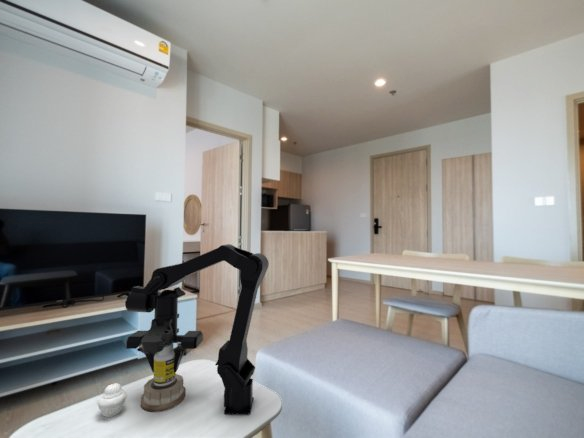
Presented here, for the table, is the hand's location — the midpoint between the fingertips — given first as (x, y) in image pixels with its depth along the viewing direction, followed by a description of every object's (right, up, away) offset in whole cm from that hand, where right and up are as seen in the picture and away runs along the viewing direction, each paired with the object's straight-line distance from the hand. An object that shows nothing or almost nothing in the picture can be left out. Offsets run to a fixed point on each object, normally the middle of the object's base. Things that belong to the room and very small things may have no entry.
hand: (164, 371), depth 74 cm
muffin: (-10, -7, -6) cm, 14 cm away
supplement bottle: (0, -3, 0) cm, 3 cm away
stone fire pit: (0, -7, 0) cm, 7 cm away
